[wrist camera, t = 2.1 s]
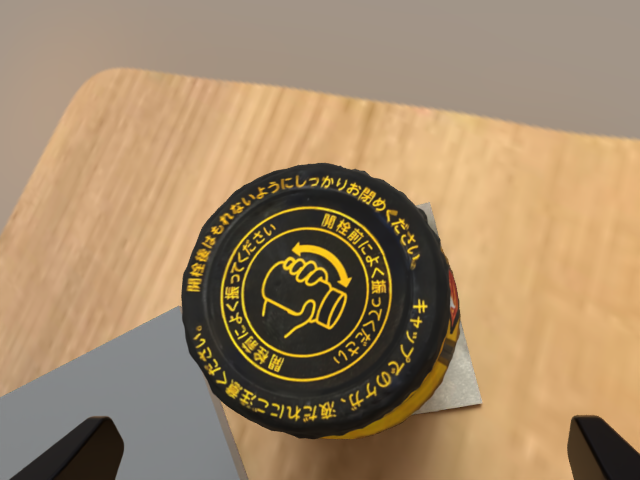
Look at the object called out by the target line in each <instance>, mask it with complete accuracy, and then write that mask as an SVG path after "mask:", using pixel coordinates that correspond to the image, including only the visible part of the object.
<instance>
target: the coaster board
mask: <svg viewBox="0 0 640 480" xmlns="http://www.w3.org/2000/svg"><path fill="white" fill-rule="evenodd" d="M92 416H108V417H110V418H111V419H112V420H113V422H114V424H115V425H116V427H117V429H118V431H119V433H120V435H121V437H122V439H123V441H124V453H123V457H122V460H121V463H120V466H119V469H118V472H117V475H116V479H115V480H248V477H247V474H246V472H245V469H244V466H243V463H242V460H241V458H240V455H239V452H238V449H237V447H236V444H235V441H234V438H233V435H232V433H231V430H230V427H229V424H228V422H227V419H226V416H225V413H224V410H223V408H222V405H221V402H220V399H219V398H217V397H216V396H215V395H214V394H213V393H212V391H211V388H210V386H209V384H208V381H207V379H206V378H205V376H204V374H203V372H202V371H201V369H200V368H199V366H198V364H197V363H196V362H195V361H194V359H193V358H192V357H191V355H190V354H189V351H188V346H187V342H186V339H185V328H184V324H183V322H182V307H181V306H177V307H175V308H173V309H171V310H169V311H168V312H166V313H164V314H162V315H160V316H158V317H156V318H154V319H152V320H150V321H148V322H146V323H144V324H142V325H140V326H138V327H136V328H134V329H133V330H131V331H129V332H127V333H125V334H123V335H121V336H119V337H117V338H115V339H113V340H111V341H109V342H107V343H105V344H103V345H101V346H99V347H97V348H96V349H94V350H92V351H90V352H88V353H86V354H84V355H82V356H80V357H78V358H76V359H74V360H72V361H70V362H68V363H66V364H64V365H62V366H61V367H59V368H57V369H55V370H53V371H51V372H49V373H47V374H45V375H43V376H41V377H39V378H37V379H35V380H33V381H31V382H29V383H27V384H26V385H24V386H22V387H20V388H18V389H16V390H14V391H12V392H10V393H8V394H6V395H4V396H2V397H0V480H9V479H10V478H12V477H13V476H14V475H15V474H17V473H18V472H19V471H21V470H22V469H23V468H24V467H26V466H27V465H28V464H30V463H31V462H32V461H33V460H35V459H36V458H37V457H38V456H40V455H41V454H42V453H44V452H45V451H46V450H47V449H49V448H50V447H51V446H52V445H54V444H55V443H56V442H58V441H59V440H60V439H61V438H63V437H64V436H65V435H67V434H68V433H69V432H70V431H72V430H73V429H74V428H75V427H77V426H78V425H79V424H81V423H82V422H83V421H84V420H86V419H87V418H89V417H92Z"/></svg>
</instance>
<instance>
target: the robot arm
mask: <svg viewBox="0 0 640 480" xmlns="http://www.w3.org/2000/svg"><path fill="white" fill-rule="evenodd" d="M567 451H568V458H569V462H570V466H571V470H572V474H573V478H574V480H640V454H639V453H638V452H637V451H636V450H635V449H634V448H633V447H632V446H631V445H630V444H629V443H628V442H627V441H625V440H624V439H623V438H622V437H621V436H620V435H619V434H618V433H617V432H616V431H615V430H614V429H613V428H612V427H611V426H609V425H608V424H607V423H606V422H605V421H604V420H603V419H602V418H600V417H598V416H595V415H576V416H574V417H573V418H572V420H571V424H570V431H569V438H568V444H567ZM123 453H124V441H123V439H122V437H121V435H120V433H119V431H118V429H117V427H116V425H115V424H114V422H113V420H112V419H111V418H110V417H108V416H92V417H89V418H87V419H86V420H84V421H83V422H82V423H81V424H79V425H78V426H77V427H75V428H74V429H73V430H72V431H70V432H69V433H68V434H67V435H65V436H64V437H63V438H61V439H60V440H59V441H58V442H56V443H55V444H54V445H52V446H51V447H50V448H49V449H47V450H46V451H45V452H44V453H42V454H41V455H40V456H38V457H37V458H36V459H35V460H33V461H32V462H31V463H30V464H28V465H27V466H26V467H24V468H23V469H22V470H21V471H19V472H18V473H17V474H15V475H14V476H13V477H12V478H10V479H9V480H115V479H116V475H117V472H118V469H119V466H120V463H121V460H122V457H123Z"/></svg>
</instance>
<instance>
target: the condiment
mask: <svg viewBox="0 0 640 480" xmlns="http://www.w3.org/2000/svg"><path fill="white" fill-rule="evenodd" d="M181 298H182V322H183V324H184V328H185V339H186V342H187V346H188V351H189V354H190V355H191V357H192V358H193V359H194V361H195V362H196V363H197V364H198V366H199V368H200V369H201V371H202V372H203V374H204V376H205V378H206V379H207V381H208V384H209V386H210V388H211V391H212V393H213V394H214V395H215V396H216V397H217V398H219V399H220V400H221V401H222V402H223V403H224V404H225V405H226V406H228V407H229V408H231V409H232V410H234V411H235V412H237V413H238V414H240V415H242V416H243V417H245V418H247V419H248V420H250V421H253V422H255V423H257V424H259V425H260V426H262V427H264V428H267V429H269V430H271V431H278V432H285V433H287V434H290V435H293V436H295V437H297V438H308V439H318V438H320V439H358V438H364V437H367V436H371V435H374V434H377V433H380V432H382V431H384V430H387V429H389V428H391V427H393V426H396V425H398V424H400V423H402V422H404V421H405V420H406V419H407V418H408V417H409V416H410V415H414V414H420V413H426V412H433V411H439V410H445V409H450V408H457V407H463V406H469V405H474V404H480V403H482V399H481V395H480V392H479V388H478V384H477V381H476V377H475V373H474V369H473V366H472V362H471V358H470V355H469V351H468V347H467V343H466V339H465V336H464V332H463V328H462V324H461V320H460V309H459V299H458V292H457V288H456V283H455V280H454V277H453V272H452V270H451V268H450V265H449V262H448V259H447V257H446V256H445V254H444V252H443V249H442V247H441V242H440V238H439V236H438V232H437V228H436V224H435V220H434V216H433V213H432V209H431V205H430V202H428V203H425V204H421V205H416V206H415V205H414V204H413V202H411V201H410V200H409V199H408V198H407V196H406V195H405V194H404V193H403V192H401V191H398V190H397V189H395V188H394V187H392V186H390V184H388V183H387V182H385V181H384V180H381V179H377V178H373V177H371V176H369V174H368V173H366V172H365V171H359V170H357V169H353V170H350V169H346V168H343V167H341V166H336V165H333V164H329V163H317V164H307V165H297V166H294V167H291V168H288V169H282V170H276V171H273V172H271V173H269V174H266V175H264V176H261V177H259V178H257V179H255V180H254V181H252V182H251V183H248V184H246V185H244V186H243V187H241V188H240V189H238V190H236V191H235V192H234V193H233V194H232V195H231V196H230V197H229V198H228V199H227V201H226V202H225V203H224V204H223V205H222V206H220V207H219V208H218V209H217V211H216V212H215V213H214V214H213V215H212V216H211V217H210V218H209V219H208V220H207V222H206V223H205V224H204V226H203V227H202V229H201V232H200V234H199V237H198V239H197V242H196V245H195V247H194V249H193V251H192V254H191V257H190V260H189V263H188V266H187V268H186V270H185V272H184V274H183V282H182V295H181Z"/></svg>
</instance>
